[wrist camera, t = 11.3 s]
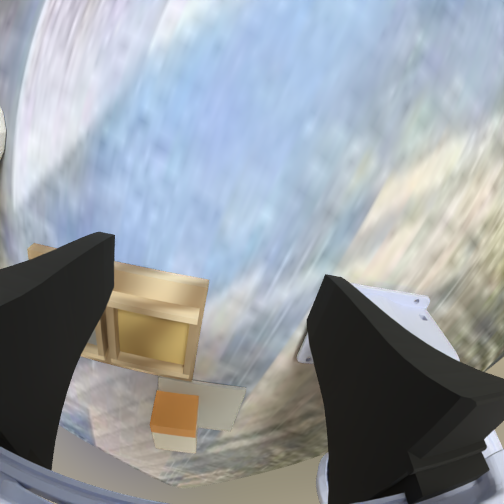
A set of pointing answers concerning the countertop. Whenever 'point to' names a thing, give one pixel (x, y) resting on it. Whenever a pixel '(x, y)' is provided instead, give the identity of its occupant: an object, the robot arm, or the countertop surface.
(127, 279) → the socket block
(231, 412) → the mat
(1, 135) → the white cup
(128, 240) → the countertop surface
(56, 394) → the robot arm
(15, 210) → the countertop surface
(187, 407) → the cube with grey knob
